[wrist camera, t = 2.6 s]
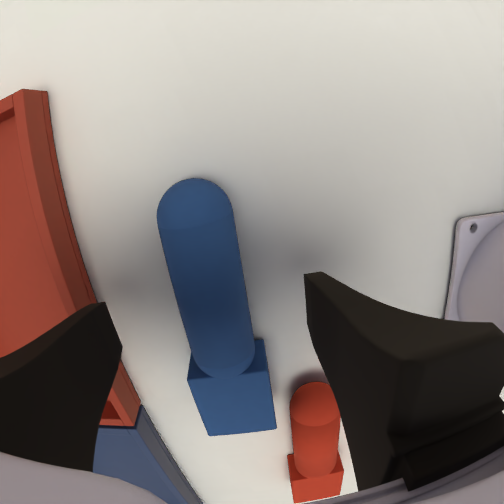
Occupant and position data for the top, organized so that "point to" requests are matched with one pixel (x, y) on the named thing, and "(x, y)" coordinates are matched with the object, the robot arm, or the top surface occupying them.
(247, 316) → the blue block-ended rod
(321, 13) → the top surface
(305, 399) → the red block-ended rod
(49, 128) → the red tray
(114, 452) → the blue tray
